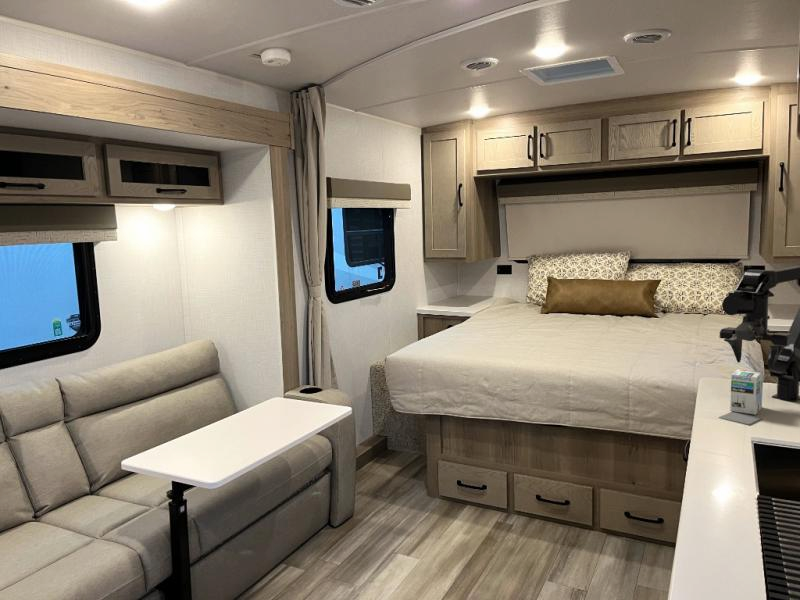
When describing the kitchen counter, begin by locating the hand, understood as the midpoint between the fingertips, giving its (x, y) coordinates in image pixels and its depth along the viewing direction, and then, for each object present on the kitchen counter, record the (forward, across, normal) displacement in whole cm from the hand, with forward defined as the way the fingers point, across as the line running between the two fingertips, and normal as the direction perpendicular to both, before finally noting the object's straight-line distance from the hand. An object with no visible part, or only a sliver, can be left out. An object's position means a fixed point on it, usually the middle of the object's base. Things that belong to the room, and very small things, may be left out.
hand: (755, 364), depth 179 cm
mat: (+12, +4, -17) cm, 21 cm away
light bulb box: (+12, +1, -8) cm, 14 cm away
